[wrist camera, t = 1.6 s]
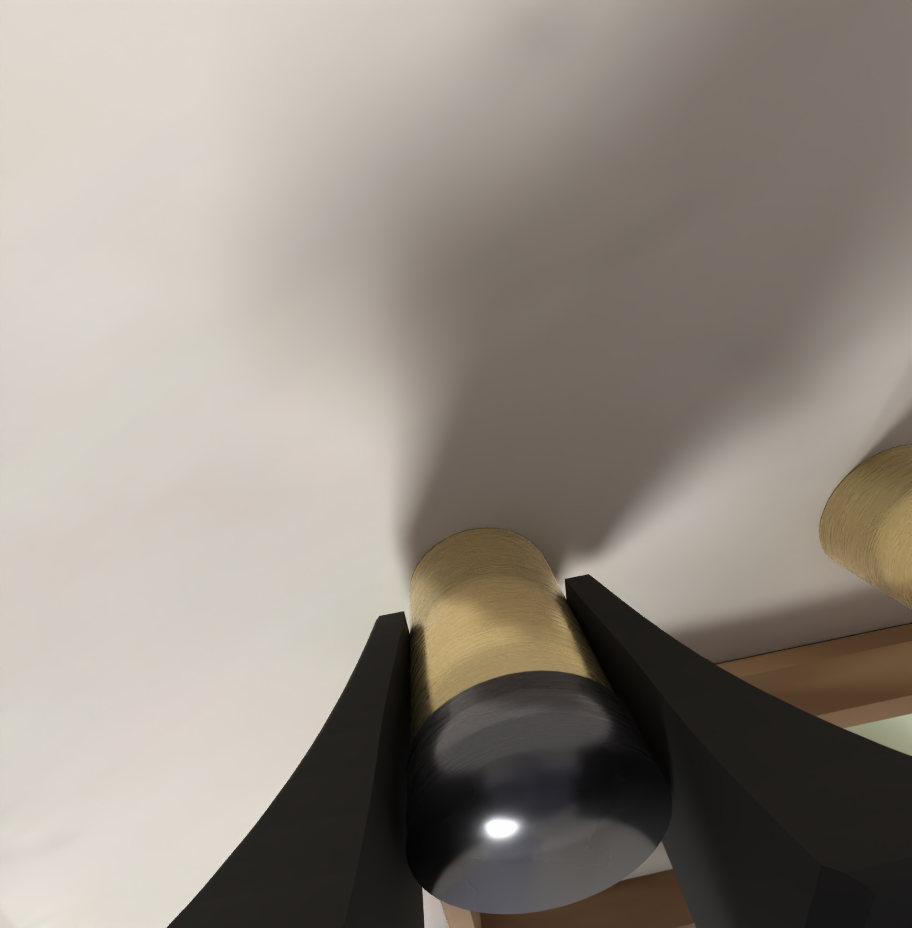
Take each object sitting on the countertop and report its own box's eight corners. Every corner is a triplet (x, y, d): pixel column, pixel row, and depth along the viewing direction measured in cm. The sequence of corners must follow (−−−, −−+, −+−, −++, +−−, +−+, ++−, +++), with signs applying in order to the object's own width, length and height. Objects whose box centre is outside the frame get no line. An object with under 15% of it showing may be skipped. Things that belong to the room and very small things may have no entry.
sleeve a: (558, 632, 13) (669, 882, 8) (422, 661, 13) (433, 936, 7) (547, 511, 12) (676, 714, 6) (392, 542, 11) (377, 777, 6)
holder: (968, 793, 19) (1036, 854, 17) (461, 907, 18) (467, 986, 16) (1055, 593, 15) (1160, 641, 13) (409, 728, 14) (409, 803, 12)
